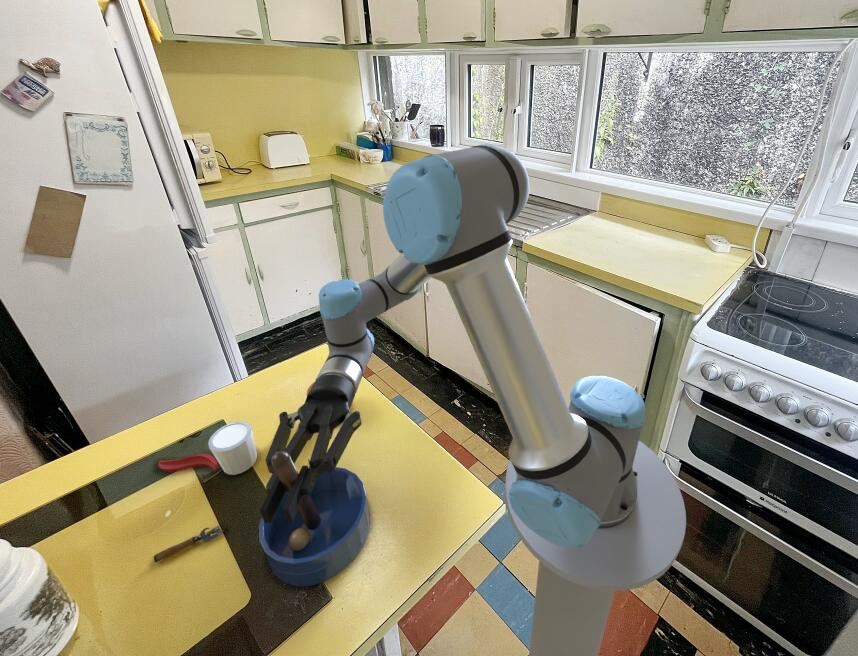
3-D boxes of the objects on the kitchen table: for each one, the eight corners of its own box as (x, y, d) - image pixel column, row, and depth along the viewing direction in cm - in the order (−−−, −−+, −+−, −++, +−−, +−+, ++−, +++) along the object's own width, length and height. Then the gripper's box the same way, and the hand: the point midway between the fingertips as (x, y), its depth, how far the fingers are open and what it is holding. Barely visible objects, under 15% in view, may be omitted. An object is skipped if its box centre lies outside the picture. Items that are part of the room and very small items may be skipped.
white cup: (210, 472, 76) (198, 446, 72) (240, 443, 81) (230, 417, 78) (240, 482, 74) (229, 455, 71) (269, 451, 80) (260, 425, 77)
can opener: (155, 564, 61) (152, 560, 61) (157, 550, 63) (155, 545, 63) (225, 536, 65) (223, 531, 65) (226, 523, 67) (224, 518, 67)
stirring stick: (324, 519, 66) (290, 448, 54) (317, 534, 64) (280, 464, 53) (312, 516, 66) (275, 445, 55) (304, 531, 65) (265, 461, 53)
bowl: (384, 496, 72) (380, 473, 69) (343, 595, 58) (336, 571, 56) (304, 483, 74) (297, 461, 71) (246, 577, 60) (235, 553, 58)
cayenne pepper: (226, 460, 78) (223, 453, 77) (205, 482, 74) (202, 475, 73) (175, 447, 80) (171, 440, 79) (152, 467, 76) (148, 460, 75)
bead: (315, 532, 65) (310, 528, 63) (306, 554, 63) (300, 551, 61) (297, 528, 65) (291, 524, 63) (288, 550, 63) (281, 547, 61)
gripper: (379, 403, 76) (340, 532, 55) (296, 404, 76) (224, 535, 55) (375, 372, 73) (330, 496, 52) (287, 372, 72) (207, 498, 51)
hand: (276, 516), depth 53 cm, fingers closed on stirring stick, 2 cm apart
